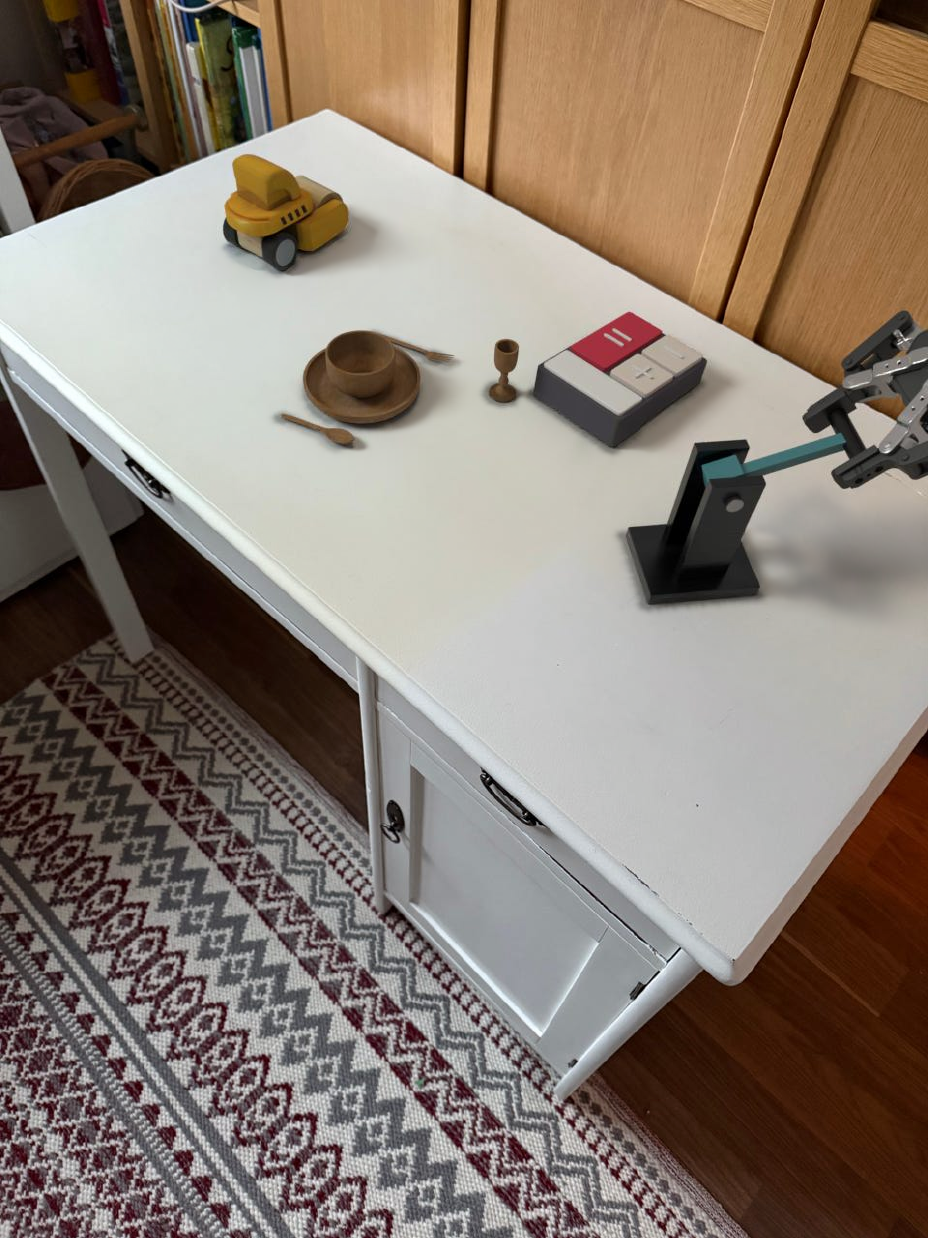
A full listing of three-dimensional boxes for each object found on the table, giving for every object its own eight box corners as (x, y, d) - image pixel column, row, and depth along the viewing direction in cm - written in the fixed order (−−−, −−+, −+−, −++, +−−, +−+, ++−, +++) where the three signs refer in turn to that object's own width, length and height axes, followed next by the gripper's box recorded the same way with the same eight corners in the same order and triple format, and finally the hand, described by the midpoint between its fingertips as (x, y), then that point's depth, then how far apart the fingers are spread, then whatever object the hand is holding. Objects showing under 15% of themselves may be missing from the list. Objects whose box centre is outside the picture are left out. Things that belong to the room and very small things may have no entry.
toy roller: (356, 229, 110) (351, 143, 102) (270, 282, 103) (257, 194, 95) (303, 202, 113) (294, 116, 105) (217, 252, 106) (199, 163, 98)
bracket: (729, 527, 85) (773, 423, 74) (756, 594, 80) (807, 495, 70) (625, 535, 84) (655, 431, 73) (647, 604, 79) (683, 504, 69)
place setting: (359, 324, 100) (357, 276, 95) (522, 387, 95) (528, 340, 90) (266, 418, 91) (258, 370, 86) (441, 493, 86) (443, 447, 81)
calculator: (711, 353, 94) (622, 414, 87) (699, 387, 97) (612, 448, 90) (628, 304, 98) (536, 359, 91) (620, 338, 101) (530, 393, 94)
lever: (845, 422, 74) (846, 401, 72) (872, 471, 71) (874, 451, 69) (698, 468, 76) (695, 449, 74) (718, 519, 73) (715, 500, 71)
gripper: (1109, 411, 62) (875, 540, 71) (1008, 285, 70) (809, 414, 79) (1083, 353, 57) (835, 499, 66) (978, 224, 65) (769, 369, 74)
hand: (822, 452), depth 72 cm, fingers closed on lever, 5 cm apart
